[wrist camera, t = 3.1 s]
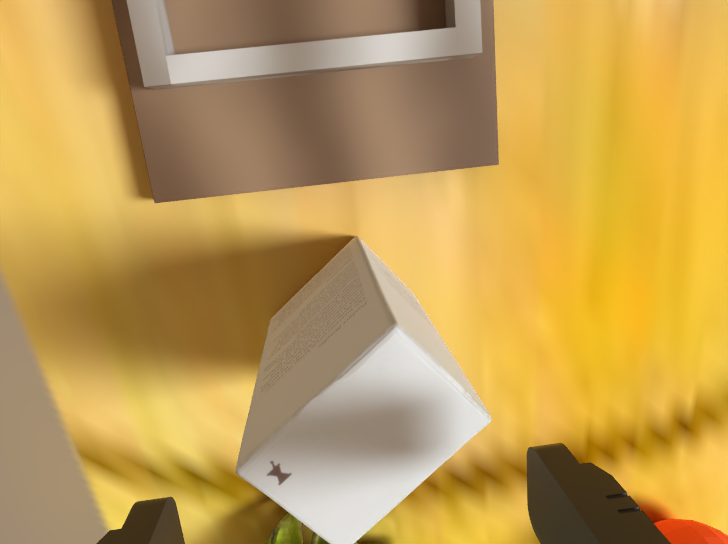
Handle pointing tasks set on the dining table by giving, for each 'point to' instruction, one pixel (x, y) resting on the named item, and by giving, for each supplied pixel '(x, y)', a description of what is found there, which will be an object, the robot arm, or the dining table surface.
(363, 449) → the skincare box
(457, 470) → the dining table surface
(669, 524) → the clementine
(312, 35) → the brown shallow box
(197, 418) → the dining table surface
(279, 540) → the passion flower
